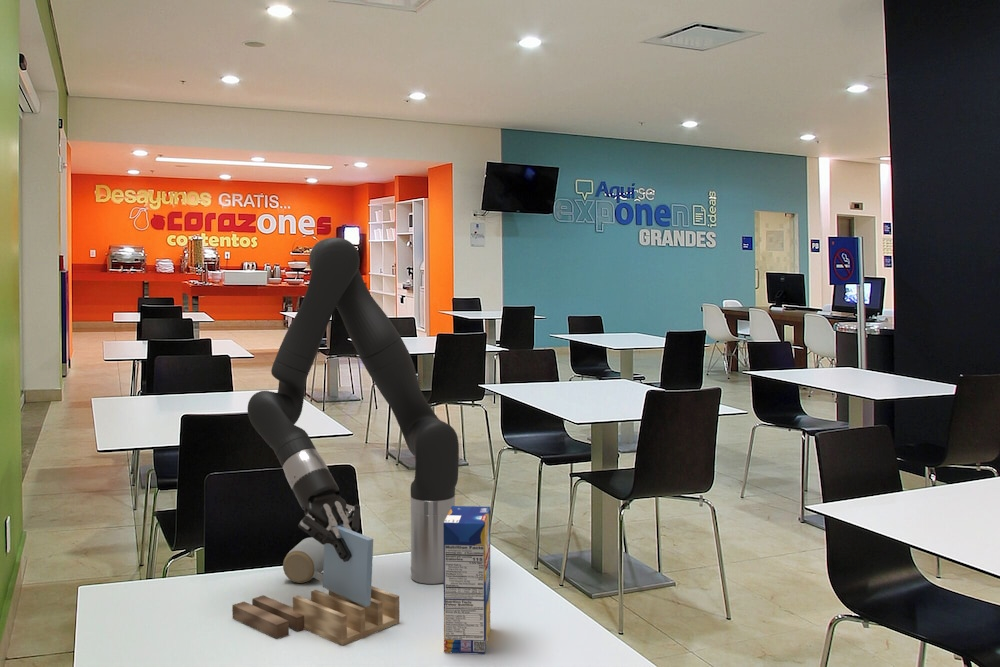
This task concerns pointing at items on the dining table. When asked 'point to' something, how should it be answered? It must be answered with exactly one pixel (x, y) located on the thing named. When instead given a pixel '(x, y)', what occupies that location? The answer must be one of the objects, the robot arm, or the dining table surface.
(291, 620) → the stand
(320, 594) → the rack
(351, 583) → the pale blue board
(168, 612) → the dining table surface
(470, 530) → the beverage box
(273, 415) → the robot arm
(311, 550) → the ceramic mug
